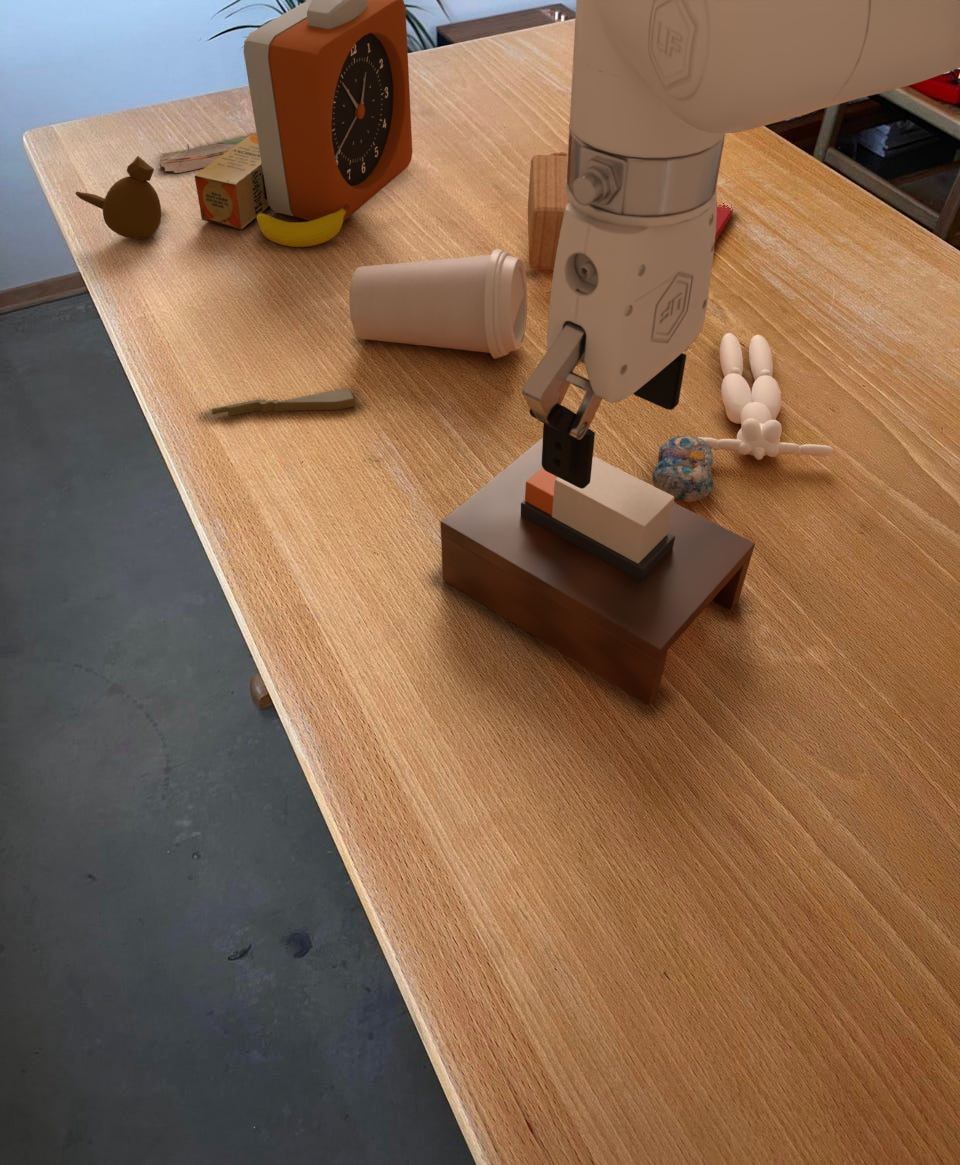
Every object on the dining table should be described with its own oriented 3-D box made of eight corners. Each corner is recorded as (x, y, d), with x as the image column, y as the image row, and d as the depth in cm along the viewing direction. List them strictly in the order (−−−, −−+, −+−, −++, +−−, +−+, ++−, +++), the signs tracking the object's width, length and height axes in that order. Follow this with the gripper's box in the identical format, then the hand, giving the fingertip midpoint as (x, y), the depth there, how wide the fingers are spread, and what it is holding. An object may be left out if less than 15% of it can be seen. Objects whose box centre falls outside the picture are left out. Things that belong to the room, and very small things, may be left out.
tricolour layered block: (673, 548, 68) (683, 498, 64) (640, 582, 66) (649, 532, 62) (554, 485, 72) (557, 435, 68) (520, 515, 70) (522, 465, 66)
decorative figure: (804, 348, 94) (831, 476, 82) (675, 340, 95) (682, 466, 83) (814, 316, 91) (842, 444, 79) (680, 308, 92) (689, 434, 80)
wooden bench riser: (738, 601, 72) (755, 543, 68) (648, 706, 66) (660, 649, 62) (539, 495, 80) (543, 436, 76) (442, 579, 74) (439, 521, 69)
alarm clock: (335, 233, 108) (311, 26, 93) (267, 215, 111) (233, 12, 96) (415, 163, 119) (406, -31, 104) (352, 149, 122) (334, -42, 107)
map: (327, 140, 125) (327, 133, 124) (169, 176, 118) (167, 168, 117) (310, 122, 128) (310, 115, 127) (154, 156, 120) (152, 149, 119)
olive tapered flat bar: (353, 394, 89) (352, 386, 88) (355, 408, 88) (354, 399, 87) (212, 409, 87) (210, 401, 87) (212, 424, 86) (210, 415, 85)
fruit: (349, 249, 106) (352, 211, 108) (344, 236, 104) (348, 197, 106) (255, 252, 107) (260, 214, 109) (249, 239, 105) (254, 200, 107)
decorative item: (533, 209, 98) (530, 126, 111) (528, 271, 102) (526, 184, 116) (600, 212, 98) (589, 128, 111) (593, 274, 102) (583, 186, 116)
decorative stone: (716, 504, 77) (660, 473, 76) (688, 525, 81) (635, 496, 80) (736, 440, 80) (683, 409, 79) (709, 464, 84) (658, 435, 83)
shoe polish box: (257, 175, 117) (202, 219, 109) (251, 133, 114) (194, 175, 106) (294, 184, 116) (241, 229, 108) (290, 141, 113) (235, 184, 105)
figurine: (181, 230, 108) (156, 216, 112) (158, 154, 103) (133, 142, 107) (113, 254, 105) (91, 239, 109) (86, 177, 100) (63, 164, 103)
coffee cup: (348, 365, 91) (509, 369, 88) (338, 256, 87) (507, 255, 84) (381, 344, 99) (529, 346, 96) (374, 243, 95) (528, 242, 92)
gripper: (606, 256, 43) (580, 539, 56) (792, 127, 53) (734, 395, 65) (473, 206, 47) (476, 483, 59) (670, 93, 56) (637, 354, 68)
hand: (611, 437), depth 62 cm, fingers open, 9 cm apart
